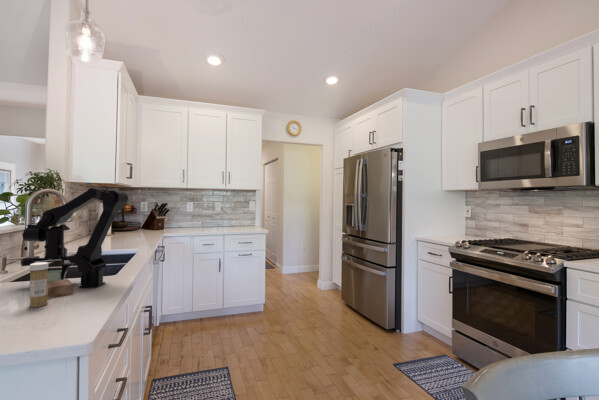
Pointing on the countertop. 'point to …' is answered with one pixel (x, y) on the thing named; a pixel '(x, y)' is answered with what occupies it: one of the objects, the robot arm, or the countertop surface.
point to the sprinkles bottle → (38, 284)
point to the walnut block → (59, 288)
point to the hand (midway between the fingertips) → (54, 281)
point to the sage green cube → (54, 275)
